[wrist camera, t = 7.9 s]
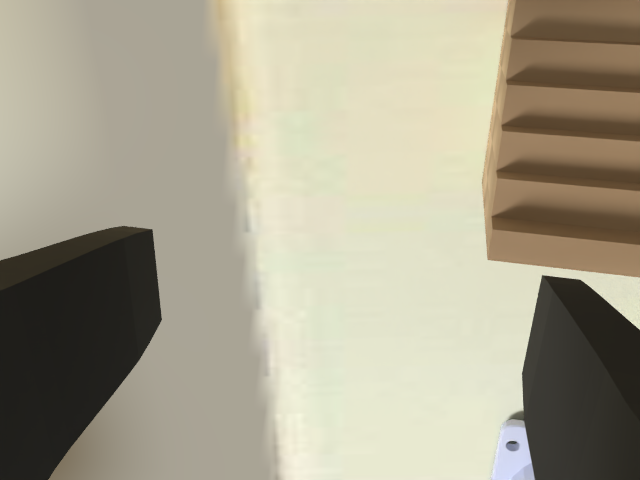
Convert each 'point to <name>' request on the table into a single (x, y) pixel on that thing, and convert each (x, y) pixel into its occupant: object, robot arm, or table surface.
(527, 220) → the staircase
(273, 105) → the table surface
